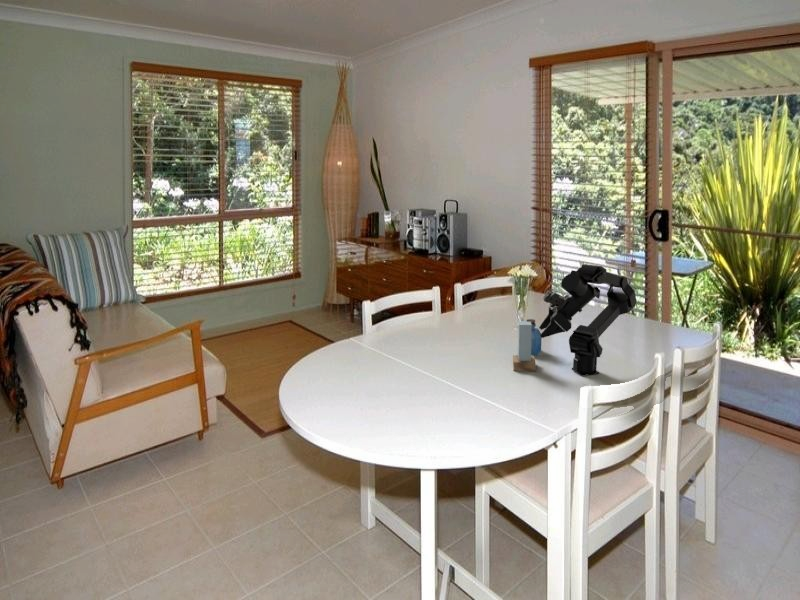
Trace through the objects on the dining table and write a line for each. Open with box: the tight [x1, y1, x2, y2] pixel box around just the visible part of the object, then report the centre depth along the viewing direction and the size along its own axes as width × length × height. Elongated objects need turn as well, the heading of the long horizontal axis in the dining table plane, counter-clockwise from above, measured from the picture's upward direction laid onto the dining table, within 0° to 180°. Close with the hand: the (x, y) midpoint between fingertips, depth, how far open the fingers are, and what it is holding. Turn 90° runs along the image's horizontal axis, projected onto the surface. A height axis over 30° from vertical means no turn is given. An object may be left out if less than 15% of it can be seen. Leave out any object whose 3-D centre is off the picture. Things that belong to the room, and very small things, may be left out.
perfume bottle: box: [525, 318, 542, 357], centre depth 204 cm, size 6×6×12 cm
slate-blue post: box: [517, 321, 532, 361], centre depth 188 cm, size 4×4×12 cm
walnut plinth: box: [512, 354, 536, 372], centre depth 189 cm, size 7×7×3 cm
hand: (540, 332), depth 182 cm, fingers open, 9 cm apart
